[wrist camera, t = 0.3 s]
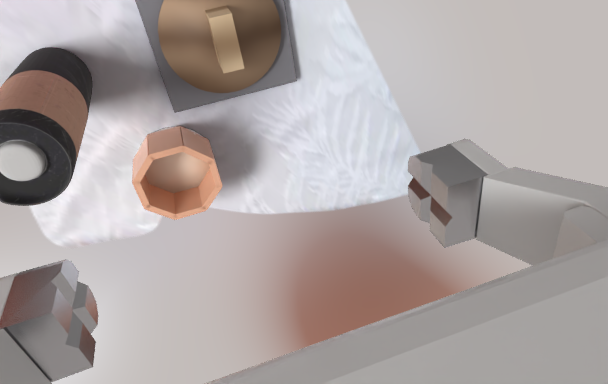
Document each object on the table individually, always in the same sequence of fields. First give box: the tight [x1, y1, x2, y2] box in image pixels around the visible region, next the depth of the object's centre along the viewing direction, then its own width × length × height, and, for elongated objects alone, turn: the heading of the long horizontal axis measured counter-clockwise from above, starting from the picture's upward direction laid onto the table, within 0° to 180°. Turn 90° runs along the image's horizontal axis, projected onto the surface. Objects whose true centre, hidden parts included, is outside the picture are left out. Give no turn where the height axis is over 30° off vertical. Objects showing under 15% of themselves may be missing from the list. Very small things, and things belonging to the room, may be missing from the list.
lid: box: [158, 0, 281, 93], centre depth 50 cm, size 14×14×5 cm
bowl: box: [132, 126, 222, 220], centre depth 57 cm, size 10×10×6 cm
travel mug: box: [0, 48, 92, 206], centre depth 42 cm, size 8×8×20 cm
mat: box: [135, 0, 297, 113], centre depth 52 cm, size 16×16×1 cm
